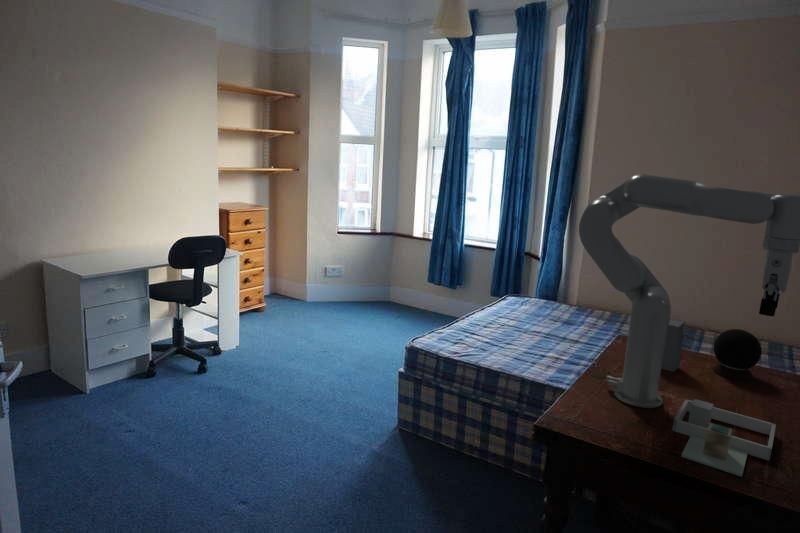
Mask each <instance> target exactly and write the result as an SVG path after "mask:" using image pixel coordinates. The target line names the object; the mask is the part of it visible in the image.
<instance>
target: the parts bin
mask: <svg viewBox="0 0 800 533" xmlns="http://www.w3.org/2000/svg"><path fill="white" fill-rule="evenodd" d="M692 402H693V400H690V399H687V398H686V399H685V400H684V402H683V403H682V405H681V407H680V408H679V410H678V412H677V413H676V415H675V417H674V419H673V422H672V428H671V431H672V432H675V433H679V434H681V435H685V436H688V437H690V436H691V435H694V436H698V437H701V438H704V439H706V434H707V429H708V428H705V427H701V426H698V425H695V424H691V423H688V421H684V420H683V419H684V416H685V415H686V413H687V412H689V413H690V408H691V404H692ZM712 419H713V420H716V421H719V422H722V423H725V424H729V425H733V426H736V427H740V428H743V429H747V430H749V431H750V430H751V431H753V432H757V433H761V434H763V435H768V436H769V438H768V443H767V445H764V444H762V443H757V442H754V441H751V440H748V439H744V438H741V437H738V436H735V435H731V439H730V444H729V446H730V447H733V448H736V449H740V450H743V451H746V452H748V454H747V455H749V456H752V457H756V458H759V459H762V460H766V461H768V462H770V459H771V455H772V449H773V444H774V440H775V439H774V437H775V434H776V428H777V427H776V426H777V424H776V423H773V422H770V421H765V420H762V419H759V418H755V417H751V416H748V415H744V414H740V413H736V412H733V411H731V410H726V409H722V408H718V407H716V406H713V410H712V416H711V420H712Z"/></svg>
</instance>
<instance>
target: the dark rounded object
mask: <svg viewBox="0 0 800 533" xmlns="http://www.w3.org/2000/svg"><path fill="white" fill-rule="evenodd" d="M713 354H714V357H715V358H716V359H717V361H718V362H719V363H716V365H714V366H713V367H712V372H713V373H714V374H716V375H718V376H719V377H721V378H724V379H729V380H732V381H737V382H751V381H753V380H754V379H753V378H754V375H753V374H752V371H751V370H749V369H751V368H752V367H753V368H754V367H755V366H756V365H757V364H758V363H759V361H760V360H761V356H762V346H761V342H760V341H759V340H758V338H757V337H756V336H755V335H754V334H752V333H751V332H749V331H747V330H745V329H741V328H740V329H739V328H733V329H727V330H725V331H723V332H722V333H720V334H719V335H718V336H717V337H716V338H715V340H714V343H713Z"/></svg>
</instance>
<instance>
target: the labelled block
mask: <svg viewBox="0 0 800 533" xmlns="http://www.w3.org/2000/svg"><path fill="white" fill-rule="evenodd" d="M732 432H733V428H729V427H726V426H723V425H719V424H716V423H713V422H710V425H709V427H708V429H707V434H706V439H705V444H704V450H703V454H706V455H709V456H712V457H715V458H718V459H721V460H724V461H725V460H726V457H727V454H728V449H729V444H730V439H731V436H732Z"/></svg>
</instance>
